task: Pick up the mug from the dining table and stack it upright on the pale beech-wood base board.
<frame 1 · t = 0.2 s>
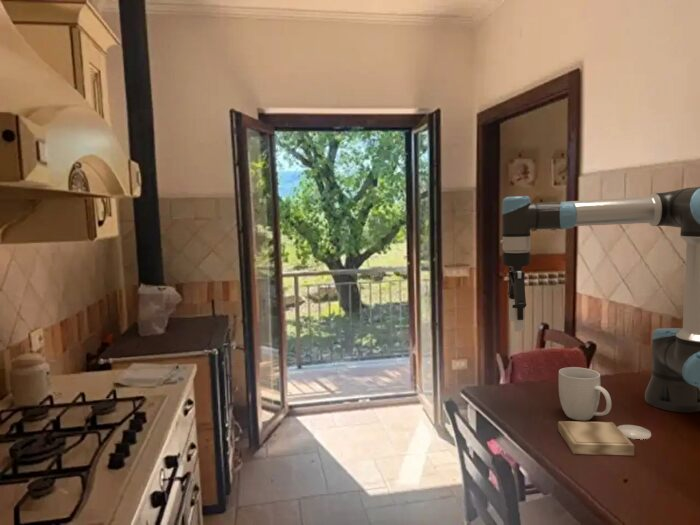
hand: (516, 325, 146), 27 cm above the table, fingers open, 13 cm apart
mug: (582, 418, 148), on the table
white oval dome: (633, 434, 137), on the table
base: (593, 442, 132), on the table
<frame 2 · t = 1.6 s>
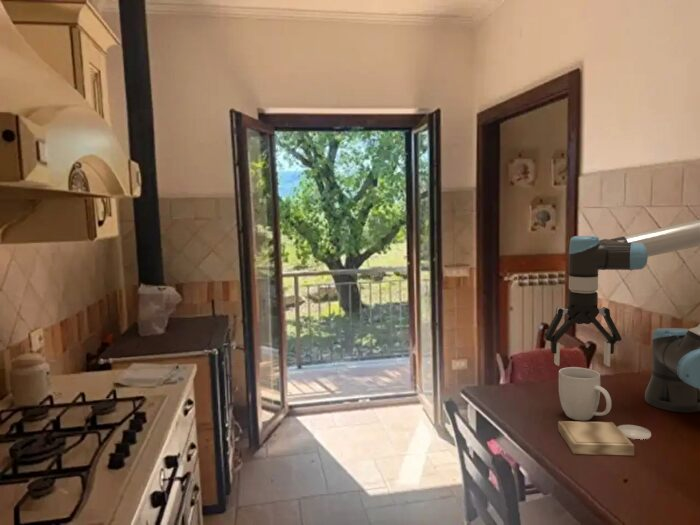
hand: (581, 364, 146), 16 cm above the table, fingers open, 13 cm apart
nothing on the table moved.
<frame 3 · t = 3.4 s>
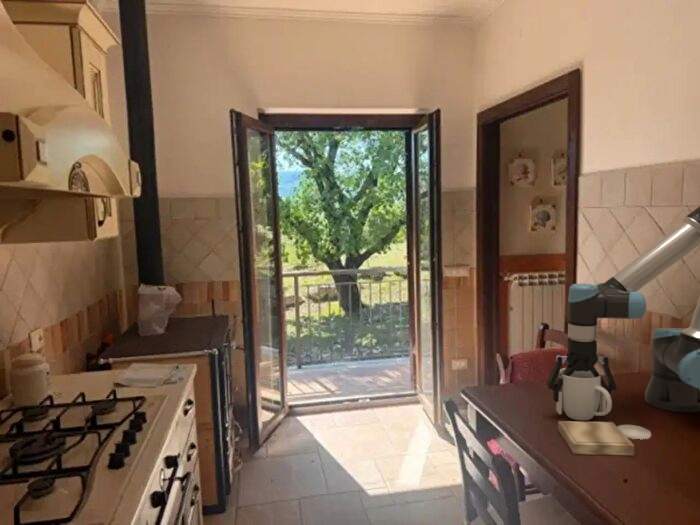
hand: (580, 412, 148), 1 cm above the table, fingers closed on mug, 11 cm apart
mug: (582, 418, 148), on the table, touching gripper
everything else where it was.
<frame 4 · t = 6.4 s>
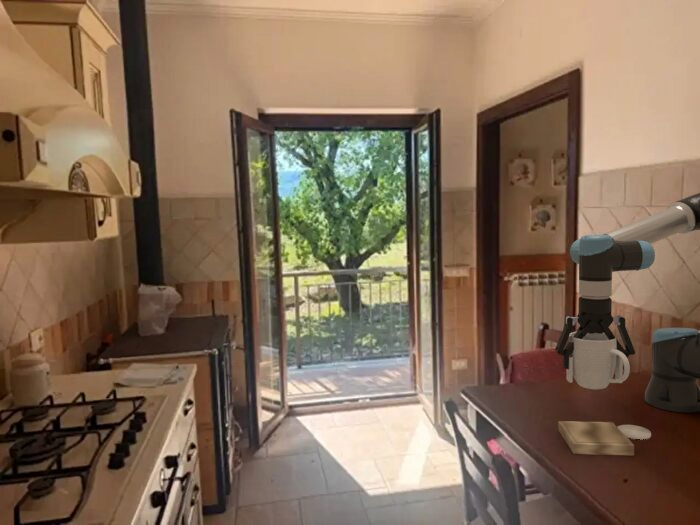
hand: (594, 381, 131), 16 cm above the table, fingers closed on mug, 11 cm apart
mug: (596, 387, 131), point 14 cm above the table, touching gripper
everything else where it was.
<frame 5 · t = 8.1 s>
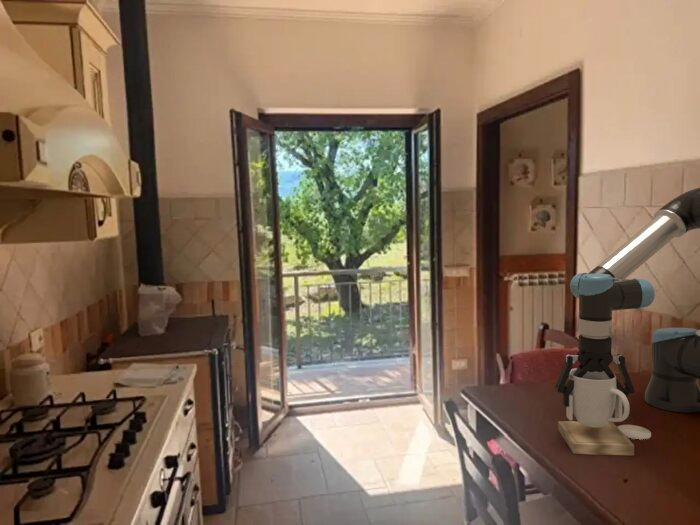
hand: (593, 418, 132), 6 cm above the table, fingers closed on mug, 11 cm apart
mug: (596, 424, 132), point 5 cm above the table, touching gripper
everything else where it was.
when the fingers open (5 cm above the table, at t = 9.4 s): mug moves 1 cm, resting on base.
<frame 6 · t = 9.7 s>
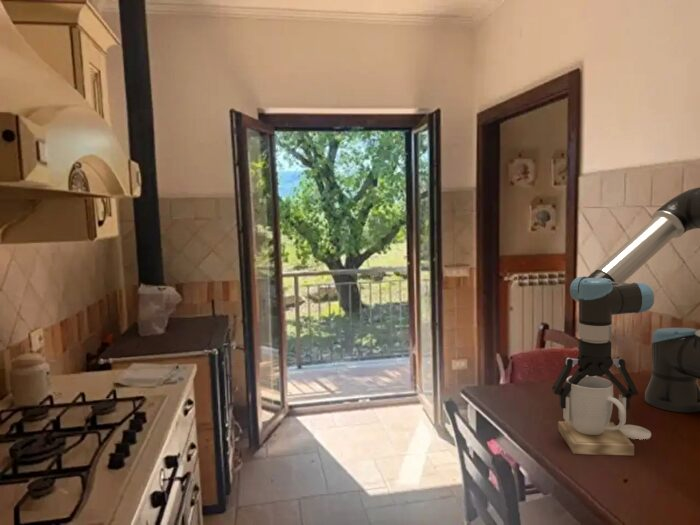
hand: (594, 420, 132), 6 cm above the table, fingers open, 13 cm apart
mug: (592, 432, 132), point 3 cm above the table, touching base, gripper
everything else where it was.
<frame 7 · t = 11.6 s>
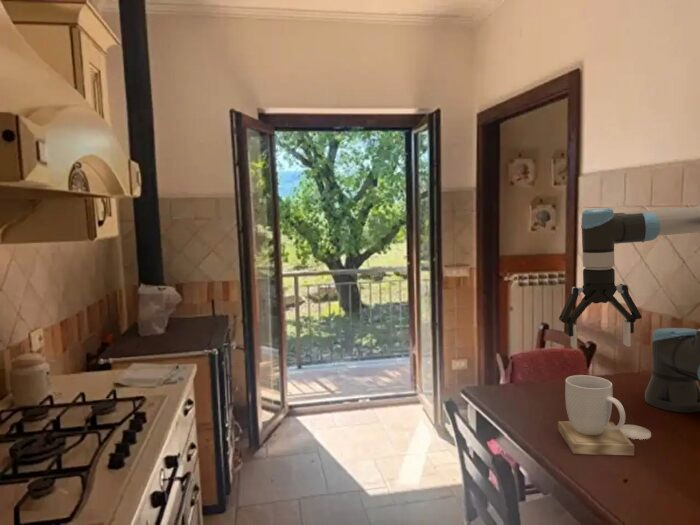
hand: (600, 346, 137), 23 cm above the table, fingers open, 13 cm apart
mug: (591, 432, 132), point 2 cm above the table, touching base
everything else where it was.
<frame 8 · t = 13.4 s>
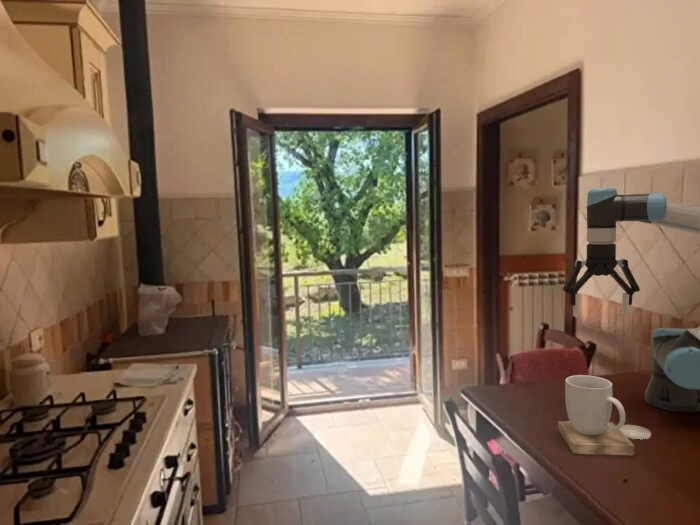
hand: (600, 316, 148), 29 cm above the table, fingers open, 13 cm apart
nothing on the table moved.
at the end: mug inside the target area on the base (0.5 cm from its centre), point 2.5 cm above the base's base; mug tilted 0°; the gripper is holding nothing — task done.
